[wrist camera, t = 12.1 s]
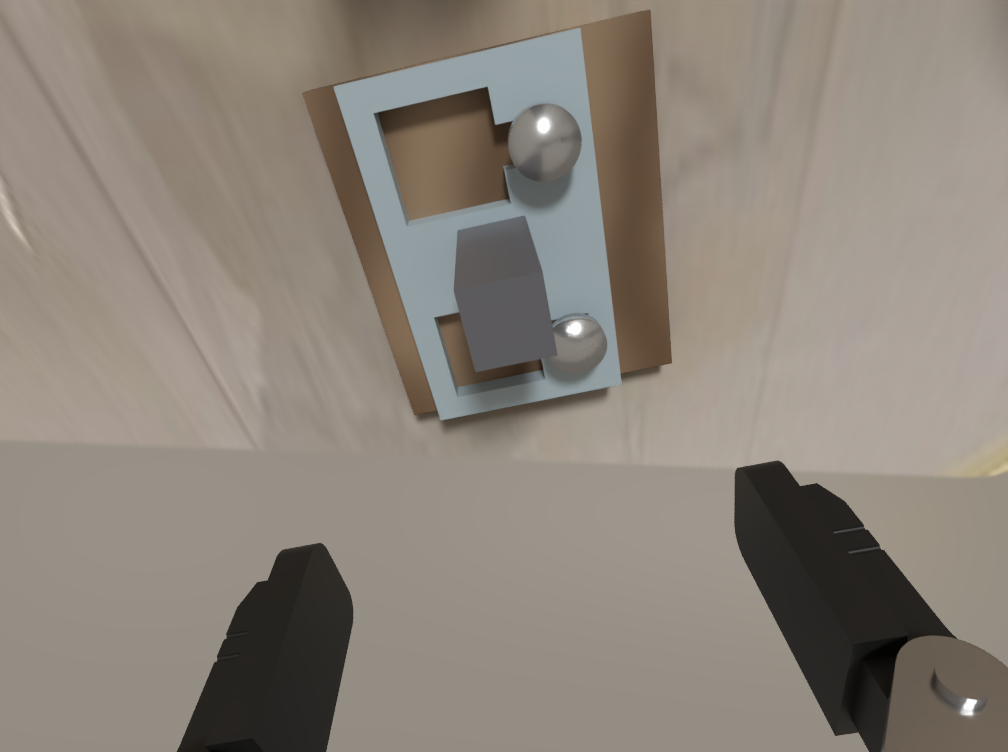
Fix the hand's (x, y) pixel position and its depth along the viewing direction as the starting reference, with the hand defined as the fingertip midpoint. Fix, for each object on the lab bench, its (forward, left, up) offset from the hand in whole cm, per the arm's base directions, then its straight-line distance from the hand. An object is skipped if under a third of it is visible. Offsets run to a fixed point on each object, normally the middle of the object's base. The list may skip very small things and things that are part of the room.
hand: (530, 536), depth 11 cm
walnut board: (-1, 0, -19) cm, 19 cm away
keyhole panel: (0, 0, -18) cm, 18 cm away
